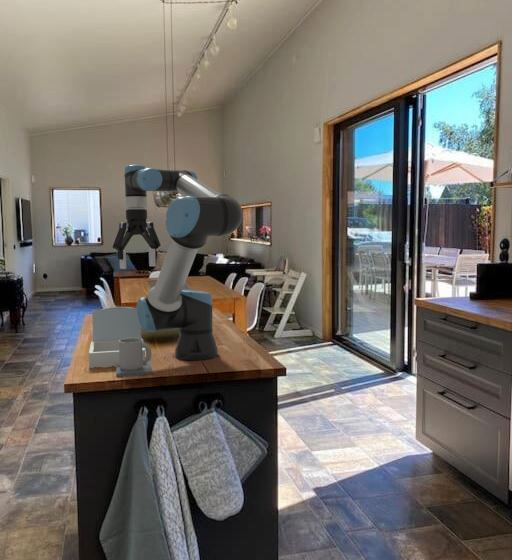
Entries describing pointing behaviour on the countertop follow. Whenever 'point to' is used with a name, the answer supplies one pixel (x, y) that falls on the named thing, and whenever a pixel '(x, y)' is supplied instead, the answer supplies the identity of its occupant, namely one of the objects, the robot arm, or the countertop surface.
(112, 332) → the cold frame
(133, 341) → the cup
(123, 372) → the slate tile
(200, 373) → the countertop surface
